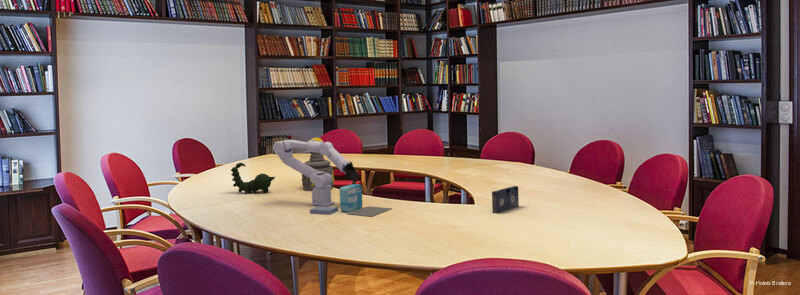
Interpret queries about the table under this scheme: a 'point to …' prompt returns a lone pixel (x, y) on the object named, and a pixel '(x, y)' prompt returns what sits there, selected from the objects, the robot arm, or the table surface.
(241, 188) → the toy figurine
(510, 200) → the vhs cassette tape
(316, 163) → the decorative lamp
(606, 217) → the table surface
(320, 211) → the book
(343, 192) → the teal flat block
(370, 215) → the mat
